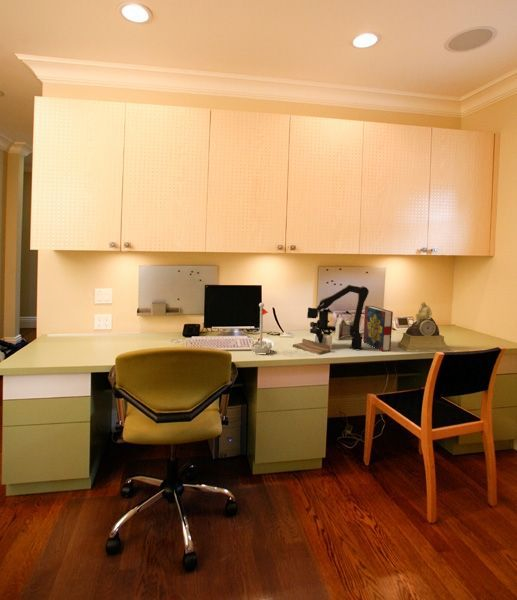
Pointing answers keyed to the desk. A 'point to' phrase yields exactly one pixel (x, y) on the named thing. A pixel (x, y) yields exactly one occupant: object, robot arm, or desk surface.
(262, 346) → the flag stand
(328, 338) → the picture frame
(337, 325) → the decorative sign
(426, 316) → the decorative clock
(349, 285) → the robot arm
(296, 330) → the desk surface
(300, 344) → the picture ledge
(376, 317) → the book
